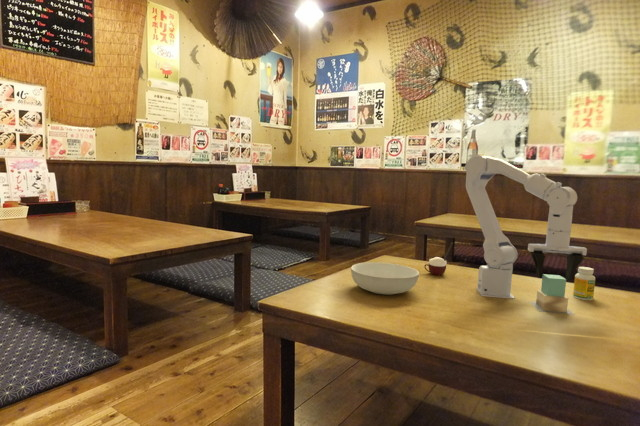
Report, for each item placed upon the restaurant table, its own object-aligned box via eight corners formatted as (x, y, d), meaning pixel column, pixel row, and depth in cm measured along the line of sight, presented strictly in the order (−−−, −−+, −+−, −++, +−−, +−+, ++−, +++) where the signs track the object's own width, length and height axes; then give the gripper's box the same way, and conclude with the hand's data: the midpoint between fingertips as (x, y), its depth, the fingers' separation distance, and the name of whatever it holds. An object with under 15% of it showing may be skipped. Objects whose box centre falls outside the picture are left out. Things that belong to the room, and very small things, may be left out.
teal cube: (546, 295, 116) (548, 278, 115) (541, 291, 120) (542, 274, 119) (564, 297, 115) (566, 279, 114) (557, 292, 119) (559, 275, 119)
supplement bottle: (577, 294, 133) (581, 265, 132) (596, 299, 129) (599, 269, 128) (569, 297, 130) (572, 267, 129) (588, 302, 126) (591, 271, 125)
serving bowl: (431, 298, 124) (433, 275, 123) (369, 304, 116) (371, 280, 116) (394, 279, 143) (395, 260, 143) (339, 283, 136) (339, 263, 135)
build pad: (539, 312, 114) (539, 311, 114) (528, 302, 123) (528, 301, 123) (574, 315, 113) (575, 314, 113) (561, 305, 122) (561, 304, 122)
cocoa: (423, 274, 153) (423, 242, 152) (428, 271, 158) (428, 239, 157) (449, 278, 148) (449, 244, 147) (453, 274, 153) (454, 241, 152)
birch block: (543, 310, 116) (544, 296, 115) (536, 303, 121) (537, 290, 121) (566, 312, 115) (568, 298, 114) (558, 305, 120) (559, 291, 120)
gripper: (535, 230, 113) (530, 279, 114) (594, 234, 111) (588, 284, 112) (527, 227, 120) (522, 273, 121) (582, 230, 117) (577, 277, 119)
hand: (553, 278), depth 117 cm, fingers open, 7 cm apart
